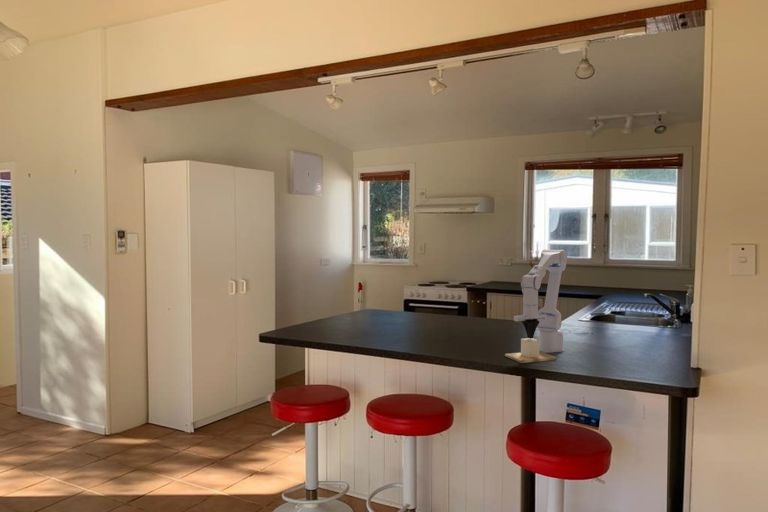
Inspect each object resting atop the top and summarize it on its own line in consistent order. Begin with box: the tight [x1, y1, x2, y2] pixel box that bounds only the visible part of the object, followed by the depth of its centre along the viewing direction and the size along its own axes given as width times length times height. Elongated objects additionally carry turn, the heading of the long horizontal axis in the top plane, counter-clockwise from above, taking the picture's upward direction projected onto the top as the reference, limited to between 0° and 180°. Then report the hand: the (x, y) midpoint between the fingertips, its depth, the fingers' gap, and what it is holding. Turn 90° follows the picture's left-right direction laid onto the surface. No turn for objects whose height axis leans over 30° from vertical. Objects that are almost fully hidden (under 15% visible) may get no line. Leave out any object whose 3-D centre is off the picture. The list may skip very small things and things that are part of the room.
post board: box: [504, 351, 557, 364], centre depth 222 cm, size 16×12×6 cm
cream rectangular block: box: [520, 337, 539, 357], centre depth 222 cm, size 5×5×7 cm
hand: (530, 337), depth 221 cm, fingers closed
